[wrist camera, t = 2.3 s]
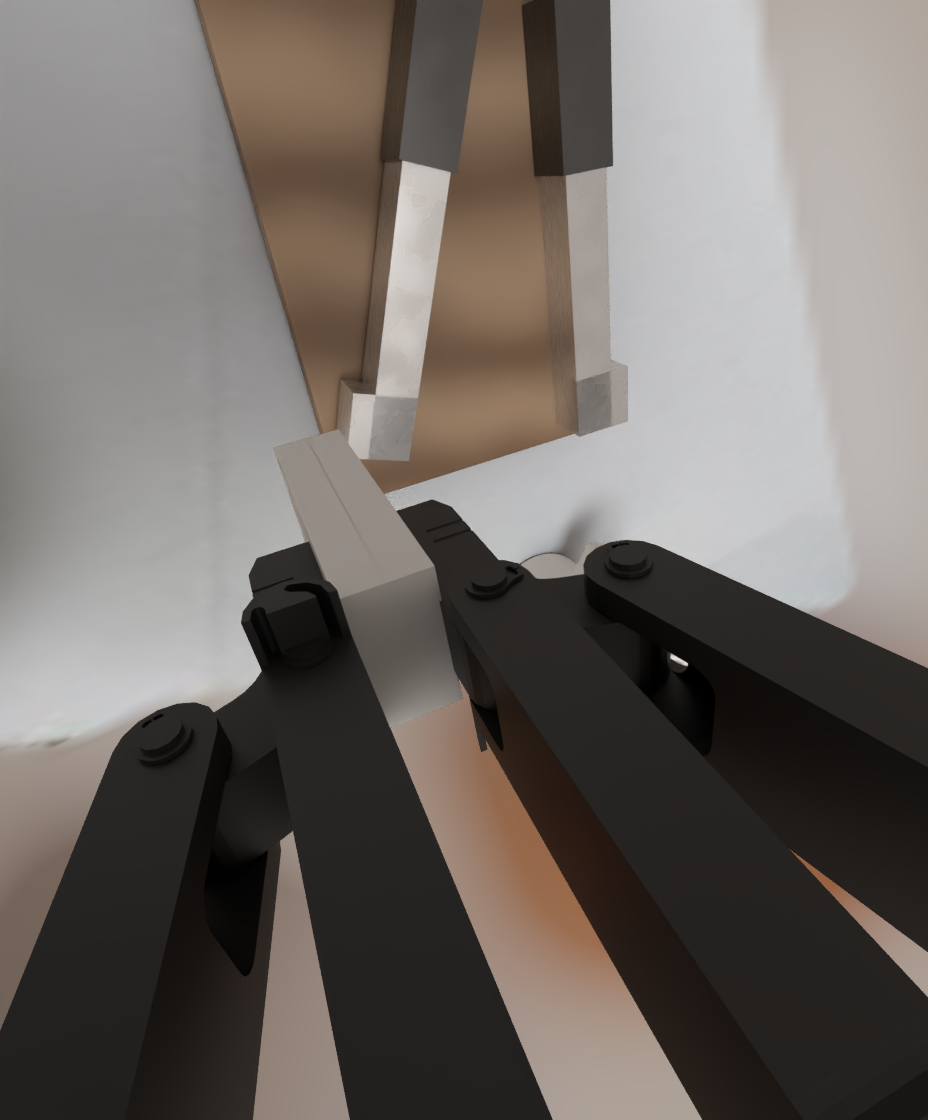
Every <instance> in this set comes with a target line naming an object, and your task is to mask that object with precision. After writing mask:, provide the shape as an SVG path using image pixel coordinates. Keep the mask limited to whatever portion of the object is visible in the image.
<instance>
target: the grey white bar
mask: <svg viewBox="0 0 928 1120" xmlns="http://www.w3.org/2000/svg"><path fill="white" fill-rule="evenodd" d="M522 18H523V32H524V45H525V58H526V71H527V85H528V98H529V111H530V124H531V138H532V151H533V164H534V176H538V178H539V192H540V206H541V219H542V233H543V247H544V261H545V275H546V288H547V302H548V316H549V330H550V343H551V357H552V371H553V385H554V399H555V412H556V423H558V424H560V425H561V426H563V427H564V428H566V429H568V430H569V431H571V432H573V433H574V434H576V435H578V436H579V437H580V436H583V435H586V434H589V433H592V432H595V431H598V430H602V429H605V428H608V427H611V426H614V425H617V424H620V423H624V422H627V421H628V367H627V366H626V365H623V364H621V363H618V362H616V361H613V360H611V359H610V315H609V269H608V223H607V177H606V167H610V166H613V146H612V87H611V28H610V0H526V4H524V5H522Z"/></svg>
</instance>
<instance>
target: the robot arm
mask: <svg viewBox="0 0 928 1120" xmlns="http://www.w3.org/2000/svg"><path fill="white" fill-rule="evenodd" d="M274 451H275V454H276V457H277V460H278V463H279V466H280V469H281V472H282V475H283V478H284V481H285V484H286V487H287V489H288V492H289V495H290V498H291V501H292V504H293V507H294V510H295V513H296V516H297V519H298V522H299V525H300V528H301V531H302V534H303V537H304V540H305V543H303V544H300V545H296V546H293V547H290V548H287V549H284V550H281V551H278V552H275V553H272V554H269V555H266V556H262V557H259V558H257V559H256V561H255V563H254V565H253V568H252V570H251V572H250V574H249V579H250V584H251V589H252V593H253V599H252V600H251V602H250V603H249V604H248V606H247V607H246V608H245V610H244V611H243V615H242V620H241V624H242V626H243V628H244V631H245V633H246V635H247V638H248V640H249V642H250V644H251V647H252V649H253V651H254V653H255V656H256V658H257V660H258V663H259V665H260V667H261V670H262V672H261V673H260V675H259V676H258V678H257V679H256V681H255V682H254V683H253V684H252V685H251V686H250V687H249V688H248V689H247V690H246V691H245V692H244V693H243V694H241V695H240V696H238V697H237V698H236V699H234V700H233V701H231V702H230V703H228V704H227V705H225V706H223V707H222V708H220V709H219V710H217V711H215V712H213V711H212V710H211V709H210V708H209V707H208V706H205V705H202V704H198V703H195V702H194V703H181V704H175V705H172V706H169V707H166V708H163V709H160V710H157V711H156V712H154V713H152V714H151V715H149V716H147V717H146V718H144V719H142V720H141V721H139V722H138V723H137V724H136V725H134V726H133V727H132V728H131V729H130V730H129V731H128V732H127V733H126V734H125V735H124V736H123V737H122V738H121V740H120V741H119V743H118V745H117V746H116V748H115V750H114V751H113V753H112V755H111V758H110V760H109V763H108V765H107V768H106V770H105V773H104V775H103V778H102V780H101V783H100V785H99V787H98V790H97V793H96V795H95V797H94V800H93V803H92V805H91V807H90V810H89V812H88V815H87V817H86V820H85V822H84V825H83V827H82V830H81V832H80V835H79V837H78V839H77V842H76V845H75V847H74V850H73V852H72V854H71V857H70V859H69V862H68V864H67V867H66V869H65V872H64V874H63V877H62V879H61V882H60V884H59V887H58V889H57V892H56V894H55V897H54V899H53V901H52V904H51V906H50V909H49V911H48V914H47V916H46V919H45V921H44V924H43V926H42V929H41V932H40V934H39V936H38V939H37V941H36V944H35V946H34V948H33V951H32V954H31V956H30V958H29V961H28V963H27V966H26V968H25V971H24V974H23V976H22V978H21V981H20V983H19V986H18V988H17V991H16V993H15V996H14V998H13V1001H12V1003H11V1006H10V1008H9V1010H8V1013H7V1015H6V1018H5V1020H4V1023H3V1025H2V1028H1V1030H0V1120H253V1113H254V1112H253V1111H254V1103H255V1093H256V1084H257V1074H258V1065H259V1055H260V1046H261V1036H262V1025H263V1017H264V1007H265V998H266V988H267V979H268V969H269V960H270V950H271V941H272V931H273V922H274V912H275V903H276V893H277V883H278V873H279V864H280V854H281V847H280V840H282V839H283V838H284V837H285V836H287V835H288V834H289V833H291V832H292V831H293V833H294V837H295V843H296V848H297V853H298V858H299V863H300V868H301V873H302V878H303V884H304V888H305V894H306V899H307V904H308V909H309V914H310V919H311V924H312V929H313V934H314V939H315V945H316V950H317V955H318V960H319V965H320V970H321V975H322V980H323V985H324V990H325V995H326V1000H327V1005H328V1010H329V1016H330V1021H331V1026H332V1031H333V1036H334V1040H335V1046H336V1051H337V1056H338V1061H339V1066H340V1071H341V1076H342V1082H343V1087H344V1092H345V1097H346V1102H347V1107H348V1112H349V1117H350V1120H552V1117H551V1115H550V1112H549V1110H548V1108H547V1105H546V1103H545V1100H544V1098H543V1095H542V1093H541V1090H540V1088H539V1086H538V1083H537V1081H536V1078H535V1076H534V1074H533V1071H532V1069H531V1066H530V1064H529V1062H528V1059H527V1057H526V1054H525V1052H524V1049H523V1047H522V1045H521V1042H520V1040H519V1038H518V1035H517V1033H516V1030H515V1028H514V1025H513V1023H512V1021H511V1018H510V1016H509V1013H508V1011H507V1008H506V1006H505V1004H504V1001H503V999H502V997H501V994H500V992H499V989H498V987H497V984H496V982H495V980H494V977H493V975H492V972H491V970H490V967H489V965H488V963H487V960H486V958H485V955H484V953H483V951H482V948H481V946H480V943H479V941H478V939H477V936H476V934H475V931H474V929H473V927H472V924H471V922H470V919H469V917H468V914H467V912H466V910H465V907H464V905H463V902H462V900H461V898H460V895H459V893H458V890H457V888H456V885H455V883H454V881H453V878H452V876H451V873H450V871H449V869H448V866H447V864H446V861H445V859H444V857H443V854H442V852H441V849H440V847H439V844H438V842H437V840H436V837H435V835H434V832H433V830H432V828H431V825H430V823H429V820H428V818H427V816H426V813H425V811H424V808H423V806H422V803H421V802H420V799H419V796H418V794H417V792H416V789H415V787H414V784H413V782H412V779H411V777H410V775H409V772H408V770H407V767H406V765H405V763H404V760H403V758H402V755H401V753H400V750H399V748H398V746H397V743H396V741H395V739H394V736H393V734H392V731H391V729H390V728H392V727H395V726H397V725H400V724H402V723H405V722H407V721H410V720H412V719H414V718H417V717H419V716H422V715H424V714H427V713H429V712H432V711H434V710H436V709H439V708H442V707H444V706H447V705H449V704H452V703H454V702H456V701H459V700H461V699H463V697H462V692H461V688H460V683H459V679H460V681H461V683H462V684H463V686H464V688H465V689H466V691H467V693H468V694H469V698H470V703H471V707H472V713H473V718H474V722H475V727H476V732H477V737H478V741H479V745H480V749H481V752H482V751H485V750H487V745H486V741H487V743H488V744H489V746H490V748H491V750H492V752H493V753H494V755H495V757H496V759H497V760H498V762H499V764H500V765H501V767H502V769H503V771H504V772H505V774H506V776H507V778H508V780H509V781H510V783H511V785H512V787H513V788H514V790H515V792H516V794H517V795H518V797H519V799H520V801H521V802H522V804H523V806H524V808H525V809H526V811H527V813H528V814H529V816H530V818H531V820H532V822H533V824H534V825H535V827H536V829H537V831H538V832H539V834H540V836H541V837H542V839H543V841H544V843H545V844H546V846H547V848H548V850H549V851H550V853H551V855H552V857H553V859H554V860H555V862H556V864H557V866H558V867H559V869H560V871H561V873H562V874H563V876H564V878H565V880H566V881H567V883H568V885H569V887H570V888H571V890H572V892H573V894H574V895H575V897H576V899H577V901H578V902H579V904H580V906H581V908H582V909H583V911H584V913H585V915H586V916H587V918H588V920H589V922H590V923H591V925H592V927H593V929H594V931H595V932H596V934H597V936H598V938H599V939H600V941H601V943H602V944H603V946H604V948H605V950H606V951H607V953H608V955H609V957H610V959H611V960H612V962H613V964H614V966H615V967H616V969H617V971H618V973H619V974H620V976H621V978H622V980H623V981H624V983H625V985H626V987H627V988H628V990H629V992H630V994H631V995H632V997H633V999H634V1001H635V1002H636V1004H637V1006H638V1008H639V1009H640V1011H641V1013H642V1015H643V1016H644V1018H645V1020H646V1021H647V1024H648V1025H649V1027H650V1029H651V1030H652V1032H653V1034H654V1036H655V1037H656V1039H657V1041H658V1043H659V1044H660V1046H661V1048H662V1050H663V1052H664V1053H665V1055H666V1057H667V1059H668V1060H669V1062H670V1064H671V1065H672V1067H673V1069H674V1071H675V1073H676V1074H677V1076H678V1078H679V1080H680V1081H681V1083H682V1085H683V1087H684V1088H685V1090H686V1092H687V1094H688V1095H689V1097H690V1099H691V1101H692V1102H693V1104H694V1106H695V1108H696V1109H697V1111H698V1113H699V1115H700V1116H701V1118H702V1120H928V997H927V996H926V995H925V994H924V993H923V992H922V991H921V989H920V988H919V987H918V986H917V985H916V984H915V983H914V982H913V981H912V980H911V979H910V978H909V977H908V976H907V975H906V973H905V972H904V971H903V970H902V969H901V968H900V967H899V966H898V965H897V964H896V963H895V962H894V961H893V960H892V958H890V956H889V955H888V954H887V953H886V952H885V951H884V950H883V949H882V948H881V947H880V946H879V945H878V943H876V941H875V940H874V939H873V938H872V937H871V936H870V935H869V934H868V933H867V932H866V931H865V930H864V929H863V927H862V926H861V925H860V924H859V923H858V922H857V921H856V920H855V919H854V918H853V917H852V916H851V915H850V914H849V913H848V911H847V910H846V909H845V908H844V907H843V906H842V905H841V904H840V903H839V902H838V901H837V900H836V899H835V897H834V896H833V895H832V894H831V893H830V892H829V891H828V890H827V889H826V888H825V887H824V886H823V885H822V884H821V883H820V882H819V880H818V879H817V878H816V877H815V876H814V875H813V874H812V873H811V872H810V871H809V870H808V869H807V868H806V867H805V865H804V864H803V863H802V862H801V861H800V860H799V859H798V858H797V857H796V856H795V855H794V854H793V853H792V851H793V852H794V853H796V854H797V855H798V856H800V857H801V858H802V859H804V860H805V861H806V862H808V863H809V864H811V865H812V866H813V867H814V868H816V869H817V870H818V871H820V872H821V873H822V874H824V875H825V876H826V877H828V878H829V879H830V880H832V881H833V882H835V883H836V884H837V885H839V886H840V887H841V888H843V889H844V890H845V891H847V892H848V893H849V894H851V895H852V896H853V897H855V898H856V899H857V900H859V901H860V902H861V903H863V904H864V905H865V906H867V907H868V908H869V909H871V910H872V911H873V912H875V913H876V914H877V915H879V916H880V917H881V918H883V919H884V920H885V921H887V922H888V923H889V924H891V925H892V926H894V927H895V928H896V929H897V930H899V931H900V932H901V933H903V934H904V935H906V936H907V937H908V938H910V939H911V940H912V941H914V942H915V943H916V944H918V945H919V946H920V947H922V948H923V949H924V950H926V951H927V952H928V668H926V667H924V666H922V665H919V664H917V663H915V662H913V661H911V660H908V659H906V658H904V657H902V656H900V655H897V654H895V653H893V652H891V651H889V650H886V649H884V648H882V647H880V646H878V645H875V644H873V643H871V642H869V641H866V640H864V639H862V638H860V637H858V636H856V635H853V634H851V633H849V632H847V631H845V630H842V629H840V628H838V627H835V626H834V625H831V624H829V623H827V622H825V621H822V620H820V619H818V618H816V617H814V616H812V615H809V614H807V613H805V612H803V611H801V610H798V609H796V608H794V607H792V606H790V605H787V604H785V603H783V602H781V601H778V600H776V599H774V598H772V597H770V596H767V595H765V594H763V593H761V592H759V591H756V590H754V589H752V588H750V587H748V586H745V585H743V584H741V583H739V582H737V581H734V580H732V579H730V578H728V577H726V576H723V575H721V574H719V573H717V572H715V571H712V570H710V569H708V568H706V567H704V566H701V565H699V564H697V563H695V562H693V561H690V560H688V559H686V558H684V557H682V556H679V555H677V554H675V553H673V552H671V551H668V550H666V549H664V548H662V547H660V546H657V545H654V544H650V543H647V542H644V541H632V540H622V541H616V542H610V543H607V544H605V545H602V546H600V547H597V548H595V549H594V550H593V551H592V552H591V553H589V554H588V555H587V556H586V559H585V562H584V564H583V569H584V574H581V575H574V576H567V577H560V578H549V579H538V578H535V577H534V575H533V574H532V573H531V572H530V571H529V570H527V569H526V568H524V567H523V566H521V565H520V564H518V563H514V562H510V561H506V560H498V559H497V558H496V557H495V556H494V554H493V553H492V552H491V551H490V550H489V549H488V548H487V547H486V545H485V544H484V543H483V542H482V541H481V540H480V539H479V537H478V536H477V535H476V534H475V533H474V532H473V531H471V529H470V527H469V526H468V525H467V524H466V523H465V522H464V521H462V518H461V517H460V516H459V515H458V514H457V513H456V512H455V510H454V509H453V508H452V507H451V506H448V505H445V504H443V503H440V502H438V501H435V500H429V501H426V502H423V503H420V504H417V505H414V506H411V507H408V508H405V509H402V510H398V511H396V510H395V509H394V508H393V506H392V505H391V503H390V502H389V500H388V499H387V498H386V496H385V495H384V493H383V492H382V491H381V489H380V488H379V486H378V485H377V483H376V482H375V481H374V479H373V478H372V476H371V475H370V473H369V472H368V471H367V469H366V468H365V466H364V465H363V463H362V462H361V461H360V459H359V458H358V456H357V455H356V454H355V452H354V451H353V449H352V448H351V446H350V445H349V444H348V442H347V441H346V439H345V438H344V436H343V435H342V434H341V432H340V431H339V429H338V430H334V431H331V432H327V433H324V434H320V435H317V436H313V437H310V438H306V439H303V440H299V441H296V442H292V443H289V444H285V445H282V446H278V447H275V448H274ZM671 654H673V655H675V656H676V657H678V658H680V659H681V660H683V661H685V662H686V663H688V666H684V665H682V664H679V663H677V662H676V661H674V660H672V659H671ZM485 739H486V740H485ZM790 850H792V851H790Z"/></svg>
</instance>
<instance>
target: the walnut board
mask: <svg viewBox="0 0 928 1120" xmlns="http://www.w3.org/2000/svg"><path fill="white" fill-rule="evenodd" d="M194 1H195V4H196V8H197V11H198V15H199V18H200V21H201V25H202V28H203V32H204V35H205V39H206V42H207V46H208V49H209V52H210V56H211V59H212V63H213V66H214V70H215V73H216V76H217V80H218V83H219V87H220V90H221V94H222V97H223V101H224V104H225V107H226V111H227V114H228V118H229V121H230V125H231V128H232V132H233V135H234V138H235V142H236V145H237V149H238V152H239V156H240V159H241V162H242V166H243V169H244V173H245V176H246V180H247V183H248V187H249V190H250V193H251V197H252V200H253V204H254V207H255V211H256V214H257V217H258V221H259V224H260V228H261V231H262V235H263V238H264V242H265V245H266V248H267V252H268V255H269V259H270V262H271V266H272V269H273V272H274V276H275V279H276V283H277V286H278V290H279V293H280V297H281V300H282V303H283V307H284V310H285V314H286V317H287V321H288V324H289V328H290V331H291V334H292V338H293V341H294V345H295V348H296V352H297V355H298V358H299V362H300V365H301V369H302V372H303V376H304V379H305V383H306V386H307V389H308V393H309V396H310V400H311V403H312V407H313V410H314V413H315V417H316V420H317V424H318V427H319V431H320V434H324V433H327V432H331V431H334V430H336V425H337V414H338V403H339V392H340V381H341V379H345V380H356V381H362V372H363V363H364V353H365V344H366V334H367V325H368V315H369V306H370V296H371V287H372V277H373V268H374V258H375V249H376V239H377V230H378V220H379V211H380V201H381V191H382V182H383V172H384V163H385V162H382V161H380V155H381V145H382V136H383V126H384V116H385V106H386V96H387V87H388V77H389V67H390V57H391V48H392V38H393V28H394V18H395V8H396V0H194ZM524 4H526V0H483V4H482V11H481V17H480V24H479V31H478V37H477V44H476V51H475V58H474V64H473V71H472V78H471V84H470V91H469V98H468V105H467V111H466V118H465V125H464V131H463V138H462V145H461V152H460V158H459V165H458V172H457V173H453V174H450V181H449V188H448V195H447V202H446V209H445V216H444V222H443V229H442V236H441V243H440V250H439V257H438V264H437V271H436V278H435V285H434V291H433V298H432V305H431V312H430V319H429V326H428V333H427V340H426V347H425V354H424V361H423V367H422V374H421V381H420V388H419V395H418V402H417V409H416V416H415V423H414V430H413V436H412V443H411V450H410V457H409V461H393V460H370V459H360V461H361V462H362V463H363V465H364V466H365V468H366V469H367V471H368V472H369V473H370V475H371V476H372V478H373V479H374V481H375V482H376V483H377V485H378V486H379V488H380V489H381V491H382V492H383V493H384V494H385V493H388V492H391V491H395V490H398V489H401V488H404V487H407V486H410V485H414V484H417V483H420V482H423V481H426V480H429V479H433V478H436V477H439V476H442V475H445V474H448V473H451V472H455V471H458V470H461V469H464V468H467V467H470V466H474V465H477V464H480V463H483V462H486V461H489V460H493V459H496V458H499V457H502V456H505V455H508V454H512V453H515V452H518V451H521V450H524V449H527V448H530V447H534V446H537V445H540V444H543V443H546V442H549V441H553V440H556V439H559V438H562V437H565V436H568V435H572V434H574V433H573V432H571V431H569V430H568V429H566V428H564V427H563V426H561V425H560V424H558V423H556V412H555V399H554V385H553V371H552V357H551V343H550V330H549V316H548V302H547V288H546V275H545V261H544V247H543V233H542V219H541V206H540V192H539V178H538V176H534V164H533V151H532V138H531V124H530V111H529V98H528V85H527V71H526V58H525V45H524V32H523V18H522V5H524Z"/></svg>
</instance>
